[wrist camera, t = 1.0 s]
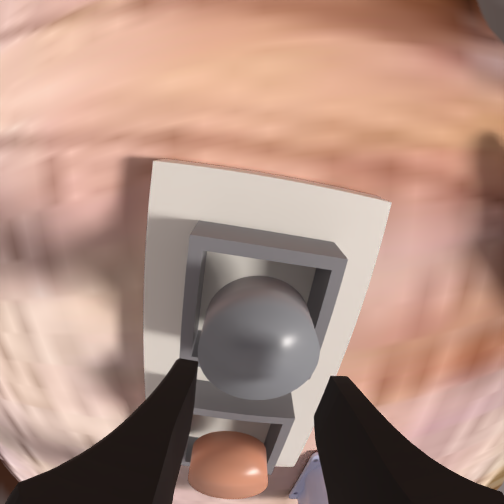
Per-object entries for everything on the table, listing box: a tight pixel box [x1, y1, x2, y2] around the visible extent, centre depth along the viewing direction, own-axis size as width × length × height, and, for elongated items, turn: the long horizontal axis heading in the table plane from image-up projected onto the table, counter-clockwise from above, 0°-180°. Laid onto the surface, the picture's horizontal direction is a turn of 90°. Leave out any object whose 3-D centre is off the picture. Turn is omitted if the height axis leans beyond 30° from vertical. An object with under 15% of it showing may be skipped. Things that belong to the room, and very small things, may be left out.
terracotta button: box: [188, 431, 268, 499], centre depth 16 cm, size 5×5×2 cm
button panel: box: [143, 159, 391, 475], centre depth 18 cm, size 22×12×4 cm, turn 171°
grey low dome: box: [198, 276, 320, 400], centre depth 13 cm, size 5×5×2 cm
